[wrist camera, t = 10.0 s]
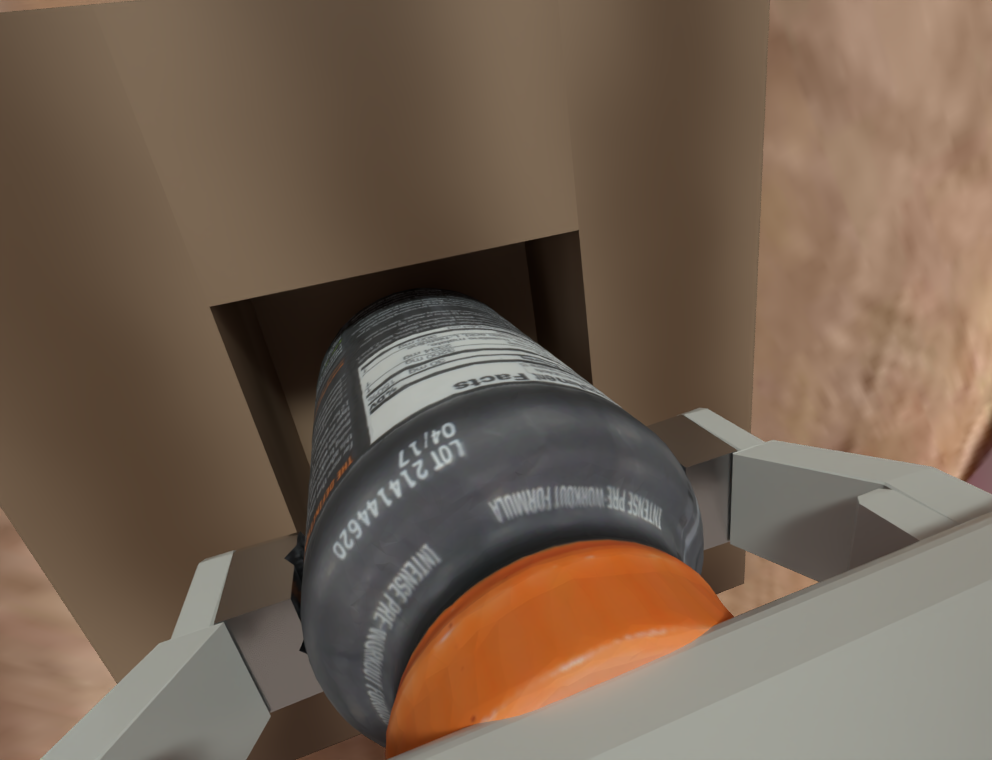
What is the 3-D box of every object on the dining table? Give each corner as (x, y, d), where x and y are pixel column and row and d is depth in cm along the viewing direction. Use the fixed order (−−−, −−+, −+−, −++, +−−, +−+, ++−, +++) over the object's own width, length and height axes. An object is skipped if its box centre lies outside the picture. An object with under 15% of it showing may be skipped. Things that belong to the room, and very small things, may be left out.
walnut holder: (228, 652, 19) (193, 799, 14) (-58, 98, 12) (-307, 39, 7) (661, 504, 22) (743, 583, 18) (643, 16, 15) (772, -57, 11)
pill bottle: (445, 505, 16) (622, 1028, 6) (273, 417, 14) (98, 1055, 4) (559, 358, 16) (968, 673, 6) (401, 237, 13) (620, 408, 3)
